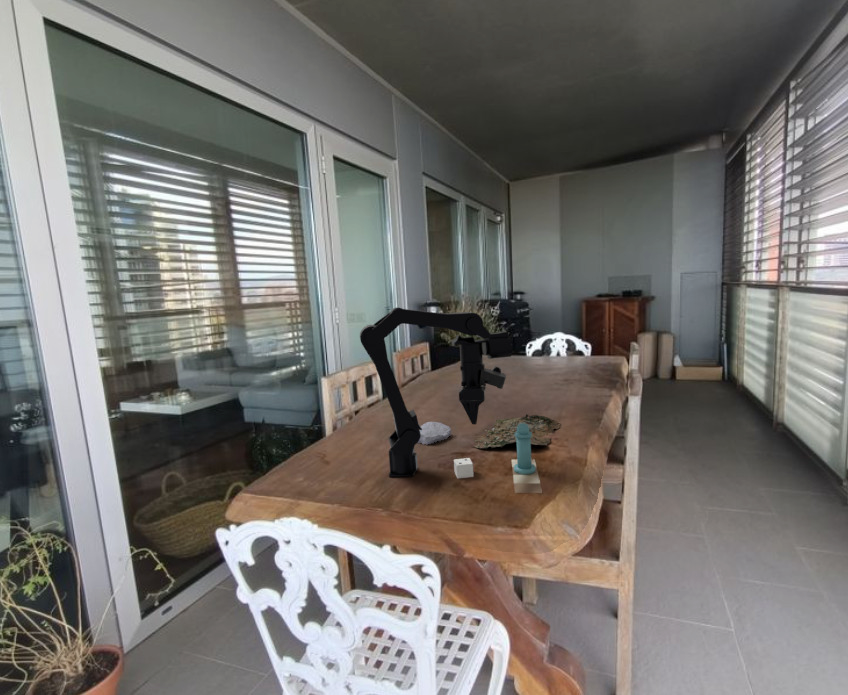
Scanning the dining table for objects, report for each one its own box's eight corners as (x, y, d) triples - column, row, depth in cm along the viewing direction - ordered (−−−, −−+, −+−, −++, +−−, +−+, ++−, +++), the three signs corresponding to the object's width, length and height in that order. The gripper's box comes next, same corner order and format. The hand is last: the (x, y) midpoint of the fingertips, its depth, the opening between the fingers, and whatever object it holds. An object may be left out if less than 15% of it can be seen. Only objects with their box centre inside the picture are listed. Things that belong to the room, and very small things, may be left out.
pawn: (514, 474, 114) (512, 426, 112) (513, 466, 119) (511, 420, 117) (536, 474, 113) (534, 426, 111) (534, 466, 118) (532, 419, 116)
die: (457, 481, 114) (456, 465, 113) (454, 474, 118) (453, 459, 117) (473, 479, 114) (472, 463, 114) (470, 473, 118) (469, 457, 118)
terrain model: (488, 420, 165) (488, 406, 164) (562, 427, 154) (562, 412, 153) (455, 449, 137) (455, 433, 136) (543, 461, 126) (543, 443, 125)
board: (514, 495, 104) (514, 492, 104) (511, 461, 124) (511, 459, 123) (542, 495, 103) (542, 492, 103) (534, 461, 123) (534, 459, 123)
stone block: (454, 441, 149) (429, 430, 155) (455, 427, 148) (430, 417, 154) (431, 454, 140) (406, 442, 146) (433, 439, 139) (407, 428, 144)
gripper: (503, 365, 111) (507, 429, 112) (502, 353, 129) (505, 408, 131) (456, 367, 112) (460, 430, 114) (462, 355, 131) (465, 409, 133)
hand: (475, 419), depth 123 cm, fingers open, 9 cm apart
